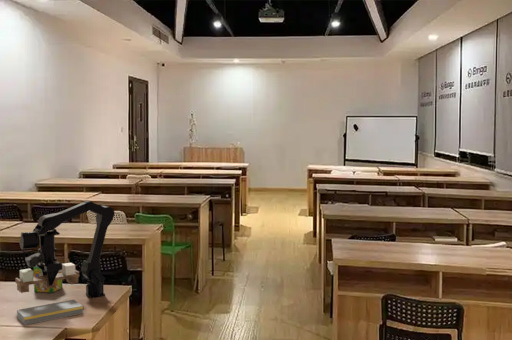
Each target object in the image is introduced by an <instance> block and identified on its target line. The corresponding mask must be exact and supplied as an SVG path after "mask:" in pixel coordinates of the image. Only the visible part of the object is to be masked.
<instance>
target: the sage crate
mask: <svg viewBox="0 0 512 340" xmlns="http://www.w3.org/2000/svg"><path fill="white" fill-rule="evenodd" d="M33 277H34V269H31V268H25V269H24V268H23V269H19V279H20V280H21V281H22V282H29V281H34V278H33Z"/></svg>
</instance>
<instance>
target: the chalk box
mask: <svg viewBox="0 0 512 340" xmlns="http://www.w3.org/2000/svg"><path fill="white" fill-rule="evenodd" d="M58 273H62V270H59V272H58ZM38 276H43V275H42V272H41V269H40V268H39V267H38V266H36V265H34V266H33V277H38ZM62 289H63V279H62V280H56V281H54V288H48V289H47V288H45V287H44V286H43V285H42V283H37V284H33V290H34V293H48V294H49V293H51V294H54V293H55V292H56V291H59V290H62Z"/></svg>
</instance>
